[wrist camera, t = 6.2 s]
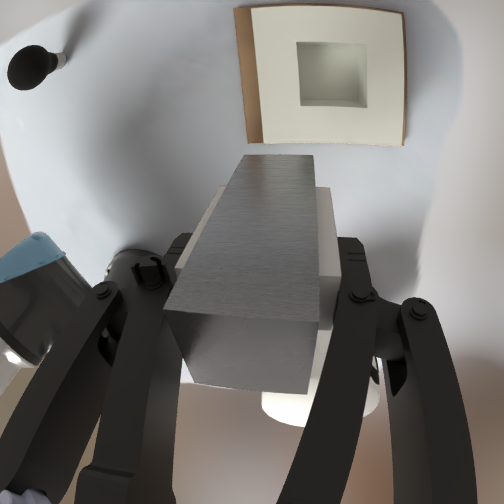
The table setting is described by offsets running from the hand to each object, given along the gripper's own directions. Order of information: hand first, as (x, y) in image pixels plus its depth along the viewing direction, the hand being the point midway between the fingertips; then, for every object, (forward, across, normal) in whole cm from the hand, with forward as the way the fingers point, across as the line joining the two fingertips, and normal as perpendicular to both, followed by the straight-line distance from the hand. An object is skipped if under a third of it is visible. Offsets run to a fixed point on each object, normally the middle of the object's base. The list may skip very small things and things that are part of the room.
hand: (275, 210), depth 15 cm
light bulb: (+20, -29, +14) cm, 38 cm away
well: (+19, +4, +6) cm, 21 cm away
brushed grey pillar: (+3, 0, 0) cm, 3 cm away
